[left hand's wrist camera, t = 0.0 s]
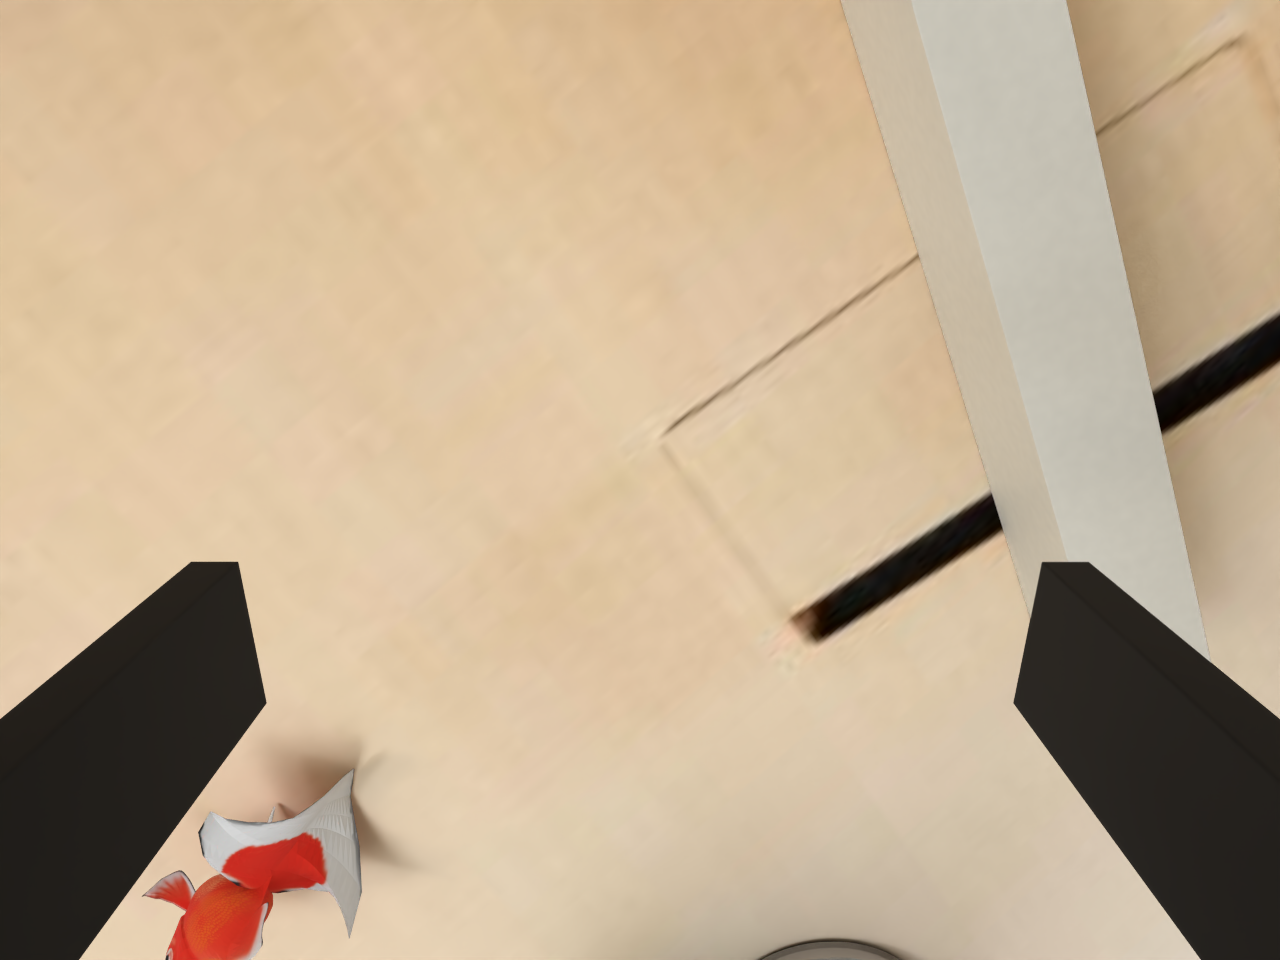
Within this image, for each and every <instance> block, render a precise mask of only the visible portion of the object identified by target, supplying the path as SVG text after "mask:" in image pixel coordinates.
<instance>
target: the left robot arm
mask: <svg viewBox="0 0 1280 960" xmlns="http://www.w3.org/2000/svg"><path fill="white" fill-rule="evenodd" d="M265 705H266V698H265V693H264V688H263V683H262V678H261V673H260V668H259V663H258V658H257V653H256V648H255V643H254V638H253V633H252V628H251V623H250V618H249V614H248V609H247V604H246V599H245V594H244V589H243V584H242V579H241V574H240V569H239V564H238V562H190V563H189V564H188V565H187V566H186V567H184V568H183V569H182V570H181V571H180V572H178V573H177V574H176V575H175V576H173V577H172V578H171V579H170V580H169V581H167V582H166V583H165V584H164V585H163V586H161V587H160V588H159V589H158V590H156V591H155V592H154V593H153V594H152V595H150V596H149V597H148V598H147V599H146V600H144V601H143V602H142V603H141V604H139V605H138V606H137V607H136V608H135V609H133V610H132V611H131V612H130V613H129V614H127V615H126V616H125V617H124V618H122V619H121V620H120V621H119V622H118V623H116V624H115V625H114V626H113V627H112V628H110V629H109V630H108V631H107V632H105V633H104V634H103V635H102V636H101V637H99V638H98V639H97V640H96V641H95V642H93V643H92V644H91V645H90V646H88V647H87V648H86V649H85V650H84V651H82V652H81V653H80V654H79V655H78V656H76V657H75V658H74V659H73V660H71V661H70V662H69V663H68V664H67V665H65V666H64V667H63V668H62V669H61V670H59V671H58V672H57V673H56V674H54V675H53V676H52V677H51V678H50V679H48V680H47V681H46V682H45V683H44V684H42V685H41V686H40V687H39V688H37V689H36V690H35V691H34V692H33V693H31V694H30V695H29V696H28V697H27V698H25V699H24V700H23V701H22V702H20V703H19V704H18V705H17V706H16V707H14V708H13V709H12V710H11V711H10V712H8V713H7V714H6V715H5V716H3V717H2V718H1V719H0V960H79V959H80V958H81V956H82V955H83V954H84V952H85V951H86V949H87V948H88V947H89V945H90V944H91V943H92V941H93V940H94V938H95V937H96V936H97V934H98V933H99V932H100V930H101V929H102V928H103V926H104V925H105V923H106V922H107V921H108V919H109V918H110V917H111V915H112V914H113V912H114V911H115V910H116V908H117V907H118V906H119V904H120V903H121V902H122V900H123V899H124V897H125V896H126V895H127V893H128V892H129V891H130V889H131V888H132V886H133V885H134V884H135V882H136V881H137V880H138V878H139V877H140V876H141V874H142V873H143V871H144V870H145V869H146V867H147V866H148V865H149V863H150V862H151V861H152V859H153V858H154V856H155V855H156V854H157V852H158V851H159V850H160V848H161V847H162V845H163V844H164V843H165V841H166V840H167V839H168V837H169V836H170V835H171V833H172V832H173V830H174V829H175V828H176V826H177V825H178V824H179V822H180V821H181V819H182V818H183V817H184V815H185V814H186V813H187V811H188V810H189V809H190V807H191V806H192V804H193V803H194V802H195V800H196V799H197V798H198V796H199V795H200V793H201V792H202V791H203V789H204V788H205V787H206V785H207V784H208V783H209V781H210V780H211V778H212V777H213V776H214V774H215V773H216V772H217V770H218V769H219V767H220V766H221V765H222V763H223V762H224V761H225V759H226V758H227V757H228V755H229V754H230V752H231V751H232V750H233V748H234V747H235V746H236V744H237V743H238V741H239V740H240V739H241V737H242V736H243V735H244V733H245V732H246V731H247V729H248V728H249V726H250V725H251V724H252V722H253V721H254V720H255V718H256V717H257V715H258V714H259V713H260V711H261V710H262V709H263V707H264V706H265ZM1014 705H1015V706H1016V707H1017V709H1018V710H1019V711H1020V713H1021V714H1022V715H1023V717H1024V718H1025V720H1026V721H1027V722H1028V724H1029V725H1030V726H1031V728H1032V729H1033V731H1034V732H1035V733H1036V735H1037V736H1038V737H1039V739H1040V740H1041V741H1042V743H1043V744H1044V746H1045V747H1046V748H1047V750H1048V751H1049V752H1050V754H1051V755H1052V757H1053V758H1054V759H1055V761H1056V762H1057V763H1058V765H1059V766H1060V767H1061V769H1062V770H1063V772H1064V773H1065V774H1066V776H1067V777H1068V778H1069V780H1070V781H1071V783H1072V784H1073V785H1074V787H1075V788H1076V789H1077V791H1078V792H1079V793H1080V795H1081V796H1082V798H1083V799H1084V800H1085V802H1086V803H1087V804H1088V806H1089V807H1090V809H1091V810H1092V811H1093V813H1094V814H1095V815H1096V817H1097V818H1098V819H1099V821H1100V822H1101V824H1102V825H1103V826H1104V828H1105V829H1106V830H1107V832H1108V833H1109V835H1110V836H1111V837H1112V839H1113V840H1114V841H1115V843H1116V844H1117V845H1118V847H1119V848H1120V850H1121V851H1122V852H1123V854H1124V855H1125V856H1126V858H1127V859H1128V861H1129V862H1130V863H1131V865H1132V866H1133V867H1134V869H1135V870H1136V871H1137V873H1138V874H1139V876H1140V877H1141V878H1142V880H1143V881H1144V882H1145V884H1146V885H1147V886H1148V888H1149V889H1150V891H1151V892H1152V893H1153V895H1154V896H1155V897H1156V899H1157V900H1158V902H1159V903H1160V904H1161V906H1162V907H1163V908H1164V910H1165V911H1166V912H1167V914H1168V915H1169V917H1170V918H1171V919H1172V921H1173V922H1174V923H1175V925H1176V926H1177V928H1178V929H1179V930H1180V932H1181V933H1182V934H1183V936H1184V937H1185V938H1186V940H1187V941H1188V943H1189V944H1190V945H1191V947H1192V948H1193V949H1194V951H1195V952H1196V954H1197V955H1198V956H1199V958H1200V959H1201V960H1280V719H1279V718H1278V717H1277V716H1275V715H1274V714H1273V713H1272V712H1270V711H1269V710H1268V709H1267V708H1266V707H1264V706H1263V705H1262V704H1261V703H1260V702H1258V701H1257V700H1256V699H1255V698H1253V697H1252V696H1251V695H1250V694H1249V693H1247V692H1246V691H1245V690H1244V689H1243V688H1241V687H1240V686H1239V685H1238V684H1236V683H1235V682H1234V681H1233V680H1232V679H1230V678H1229V677H1228V676H1227V675H1226V674H1224V673H1223V672H1222V671H1221V670H1219V669H1218V668H1217V667H1216V666H1215V665H1213V664H1212V663H1211V662H1210V661H1209V660H1207V659H1206V658H1205V657H1204V656H1202V655H1201V654H1200V653H1199V652H1198V651H1196V650H1195V649H1194V648H1193V647H1192V646H1190V645H1189V644H1188V643H1187V642H1185V641H1184V640H1183V639H1182V638H1181V637H1179V636H1178V635H1177V634H1176V633H1175V632H1173V631H1172V630H1171V629H1170V628H1168V627H1167V626H1166V625H1165V624H1164V623H1162V622H1161V621H1160V620H1159V619H1158V618H1156V617H1155V616H1154V615H1153V614H1151V613H1150V612H1149V611H1148V610H1147V609H1145V608H1144V607H1143V606H1142V605H1141V604H1139V603H1138V602H1137V601H1136V600H1134V599H1133V598H1132V597H1131V596H1130V595H1128V594H1127V593H1126V592H1125V591H1124V590H1122V589H1121V588H1120V587H1119V586H1117V585H1116V584H1115V583H1114V582H1113V581H1111V580H1110V579H1109V578H1108V577H1107V576H1105V575H1104V574H1103V573H1102V572H1100V571H1099V570H1098V569H1097V568H1096V567H1094V566H1093V565H1092V564H1091V563H1090V562H1042V564H1041V569H1040V574H1039V579H1038V584H1037V589H1036V594H1035V599H1034V604H1033V609H1032V614H1031V618H1030V623H1029V628H1028V633H1027V638H1026V643H1025V648H1024V653H1023V658H1022V663H1021V668H1020V673H1019V678H1018V683H1017V688H1016V693H1015V698H1014ZM761 960H900V959H898V958H896V957H895V956H893V955H891V954H889V953H887V952H885V951H882V950H879V949H877V948H874V947H870V946H866V945H862V944H857V943H849V942H834V941H832V942H816V943H808V944H803V945H798V946H794V947H790V948H787V949H784V950H781V951H778V952H776V953H774V954H771V955H769V956H767V957H765V958H763V959H761Z"/></svg>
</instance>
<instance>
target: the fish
mask: <svg viewBox="0 0 1280 960" xmlns="http://www.w3.org/2000/svg"><path fill="white" fill-rule="evenodd" d="M353 774H354V769H352V770H351V771H350V772H349V773H347V774H346V775H345V776H343V777H342V778H341V779H340V780H339V781H338V782H337V783H336V784H335V785H334V786H333V787H332V788H331V789H330V790H329V791H328V792H327V793H326V794H325V795H324V796H323V797H322V798H321V799H319V800H318V801H317V802H315V803H314V804H313V805H311V806H310V807H309V808H307V809H306V810H304V811H303V812H301V813H300V814H298V815H297V816H296V817H294V818H291V819H287V820H282V821H277V822H273V823H272V819H273V815H274V810H275V806H274V807H273V810H272V812H271V815H270V817H269V820H268V822H267V823H265V822H243V821H237V820H230V819H225V818H223V817H221V816H219V815H217V814H215V813H213V812H210V813H209V815H208V817H207V818H206V820H205V822H204V824H203V825H202V827H201V829H200V830H199V832H198V833H199V838H200V843H201V848H202V853H203V856H204V857H205V859H206V860H207V861H208V863H209V864H210V865H211V866H212V867H213V868H214V869H215V870H217V871H218V872H219V873H220V874H219V875H216V876H214V877H212V878H210V879H209V880H207V881H206V882H205V883H203V884H202V885H201V886H200V887H199V888H198V889H197V891H195V889H194V887H193V885H192V883H191V881H190V880H189V878H188V877H187V876H186V874H185V873H184V872H183V871H176V872H174V873H172V874H170V875H168V876H166V877H164V878H162V879H161V880H160V881H159V882H157V883H156V884H155V885H154V886H153V887H152V888H151V889H150V890H149V891H148V892H146V893H145V894H144V895H143V896H147V897H151V898H154V899H162V900H164V901H167V902H170V903H173V904H175V905H176V906H178V907H180V908H181V909H183V910H185V911H186V913H185V915H183V916H182V917H181V919H180V921H179V923H178V926H177V929H176V931H175V934H174V936H173V938H172V941H171V943H170V945H169V948H168V951H167V954H166V960H251V959H252V958H253V957H254V956H255V955H256V954H257V952H258V951H259V949H260V948H261V946H262V944H263V940H262V929H263V924H264V922H265V921H266V919H267V917H268V915H269V913H270V911H271V909H272V906H273V894H272V893H281V892H288V891H294V890H301V889H311V890H317V891H326V892H330V894H331V895H332V896H333V897H334V898H335V900H336V901H337V903H338V905H339V907H340V908H341V911H342V914H343V916H344V919H345V922H346V926H347V929H348V935H349V938H350V934H351V931H352V927H353V923H354V919H355V915H356V912H357V908H358V904H359V900H360V896H361V893H362V888H361V867H360V847H359V841H358V836H357V830H356V825H355V820H354V814H353V808H352V802H351V796H350V795H351V789H352V783H353Z"/></svg>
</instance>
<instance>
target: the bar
mask: <svg viewBox="0 0 1280 960" xmlns="http://www.w3.org/2000/svg"><path fill="white" fill-rule="evenodd" d="M841 4H842V7H843V10H844V13H845V17H846V20H847V23H848V26H849V30H850V33H851V36H852V39H853V43H854V46H855V49H856V52H857V56H858V59H859V62H860V65H861V69H862V72H863V75H864V78H865V82H866V85H867V88H868V91H869V95H870V98H871V101H872V104H873V108H874V111H875V114H876V117H877V121H878V124H879V127H880V131H881V134H882V137H883V140H884V144H885V147H886V150H887V153H888V157H889V160H890V163H891V166H892V170H893V173H894V176H895V179H896V183H897V186H898V189H899V192H900V196H901V199H902V202H903V205H904V209H905V212H906V215H907V218H908V222H909V225H910V228H911V231H912V235H913V238H914V241H915V244H916V248H917V251H918V254H919V257H920V261H921V264H922V267H923V270H924V274H925V277H926V280H927V283H928V287H929V290H930V293H931V296H932V300H933V303H934V306H935V309H936V313H937V316H938V319H939V322H940V326H941V329H942V332H943V335H944V339H945V342H946V345H947V348H948V352H949V355H950V358H951V362H952V365H953V368H954V371H955V375H956V378H957V381H958V384H959V388H960V391H961V394H962V397H963V401H964V404H965V407H966V410H967V414H968V417H969V420H970V423H971V427H972V430H973V433H974V436H975V440H976V443H977V446H978V449H979V453H980V456H981V459H982V462H983V466H984V469H985V472H986V475H987V479H988V482H989V485H990V488H991V492H992V495H993V498H994V501H995V505H996V508H997V511H998V514H999V518H1000V521H1001V524H1002V527H1003V531H1004V534H1005V537H1006V540H1007V544H1008V547H1009V550H1010V553H1011V557H1012V560H1013V563H1014V566H1015V570H1016V573H1017V576H1018V579H1019V583H1020V586H1021V589H1022V593H1023V596H1024V599H1025V602H1026V606H1027V609H1028V612H1029V615H1030V618H1031V614H1032V609H1033V604H1034V599H1035V594H1036V589H1037V584H1038V579H1039V574H1040V569H1041V564H1042V562H1090V563H1091V564H1092V565H1093V566H1094V567H1096V568H1097V569H1098V570H1099V571H1100V572H1102V573H1103V574H1104V575H1105V576H1107V577H1108V578H1109V579H1110V580H1111V581H1113V582H1114V583H1115V584H1116V585H1117V586H1119V587H1120V588H1121V589H1122V590H1124V591H1125V592H1126V593H1127V594H1128V595H1130V596H1131V597H1132V598H1133V599H1134V600H1136V601H1137V602H1138V603H1139V604H1141V605H1142V606H1143V607H1144V608H1145V609H1147V610H1148V611H1149V612H1150V613H1151V614H1153V615H1154V616H1155V617H1156V618H1158V619H1159V620H1160V621H1161V622H1162V623H1164V624H1165V625H1166V626H1167V627H1168V628H1170V629H1171V630H1172V631H1173V632H1175V633H1176V634H1177V635H1178V636H1179V637H1181V638H1182V639H1183V640H1184V641H1185V642H1187V643H1188V644H1189V645H1190V646H1192V647H1193V648H1194V649H1195V650H1196V651H1198V652H1199V653H1200V654H1201V655H1202V656H1204V657H1205V658H1206V659H1207V660H1209V661H1210V662H1211V659H1210V654H1209V649H1208V645H1207V640H1206V636H1205V631H1204V627H1203V622H1202V618H1201V613H1200V608H1199V604H1198V599H1197V595H1196V590H1195V586H1194V581H1193V576H1192V572H1191V567H1190V563H1189V558H1188V554H1187V549H1186V545H1185V540H1184V535H1183V531H1182V526H1181V522H1180V517H1179V513H1178V508H1177V503H1176V499H1175V494H1174V490H1173V485H1172V481H1171V476H1170V472H1169V467H1168V462H1167V458H1166V453H1165V449H1164V444H1163V440H1162V435H1161V430H1160V426H1159V421H1158V417H1157V412H1156V408H1155V403H1154V398H1153V394H1152V389H1151V385H1150V380H1149V376H1148V371H1147V367H1146V362H1145V357H1144V353H1143V348H1142V344H1141V339H1140V335H1139V330H1138V325H1137V321H1136V316H1135V312H1134V307H1133V303H1132V298H1131V294H1130V289H1129V284H1128V280H1127V275H1126V271H1125V266H1124V262H1123V257H1122V252H1121V248H1120V243H1119V239H1118V234H1117V230H1116V225H1115V221H1114V216H1113V211H1112V207H1111V202H1110V198H1109V193H1108V189H1107V184H1106V179H1105V175H1104V170H1103V166H1102V161H1101V157H1100V152H1099V147H1098V143H1097V138H1096V134H1095V129H1094V125H1093V120H1092V116H1091V111H1090V106H1089V102H1088V97H1087V93H1086V88H1085V84H1084V79H1083V74H1082V70H1081V65H1080V61H1079V56H1078V52H1077V47H1076V43H1075V38H1074V33H1073V29H1072V24H1071V20H1070V15H1069V11H1068V6H1067V1H1066V0H841Z"/></svg>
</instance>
